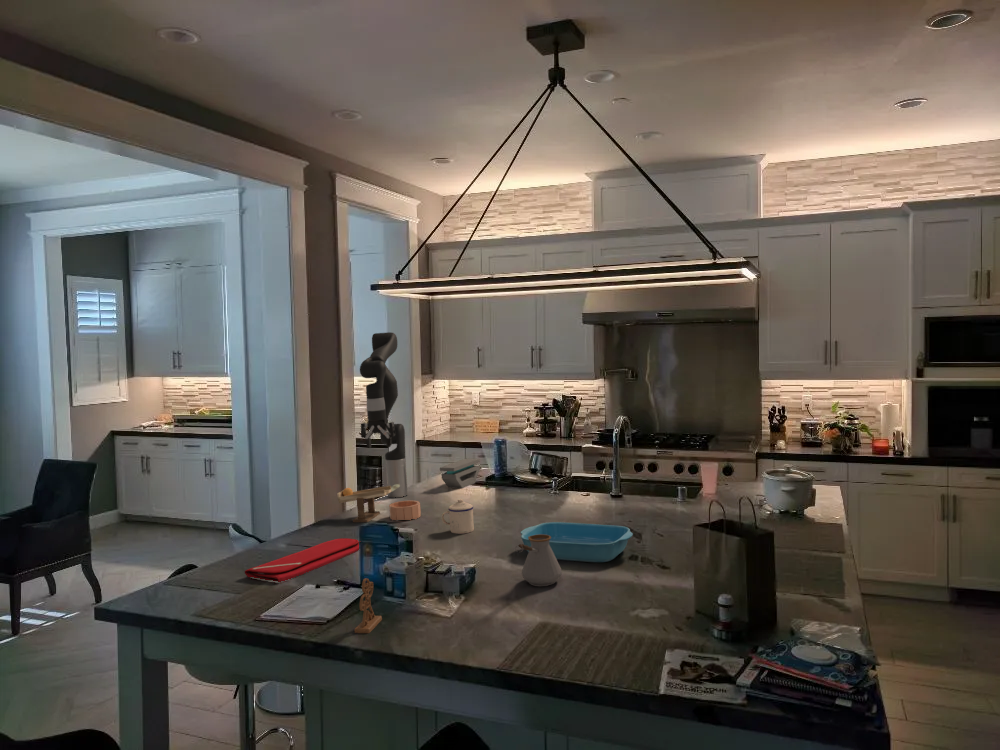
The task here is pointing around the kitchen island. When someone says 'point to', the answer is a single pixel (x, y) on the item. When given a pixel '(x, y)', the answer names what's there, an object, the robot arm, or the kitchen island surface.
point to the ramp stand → (368, 514)
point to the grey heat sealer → (460, 473)
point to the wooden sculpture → (368, 618)
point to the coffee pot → (540, 562)
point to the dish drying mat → (304, 560)
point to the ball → (347, 492)
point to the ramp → (367, 493)
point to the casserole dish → (581, 540)
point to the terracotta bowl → (405, 510)
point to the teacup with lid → (460, 517)
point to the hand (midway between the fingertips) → (379, 447)
